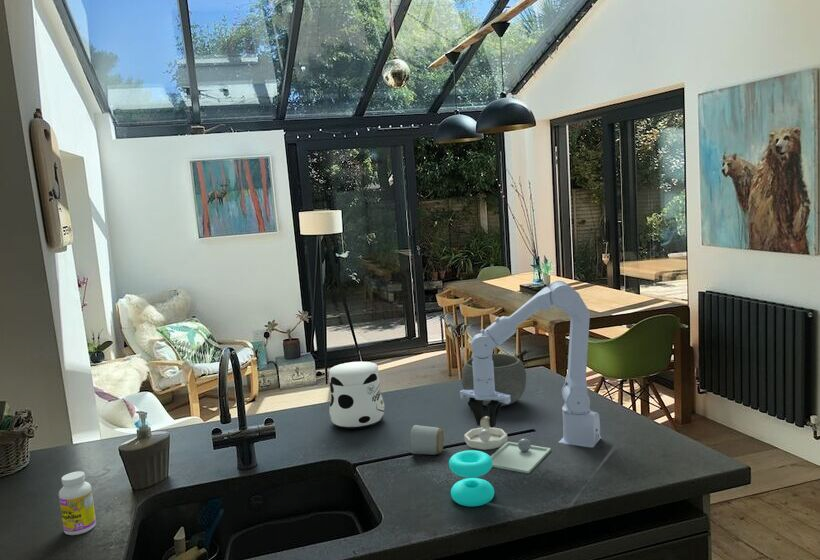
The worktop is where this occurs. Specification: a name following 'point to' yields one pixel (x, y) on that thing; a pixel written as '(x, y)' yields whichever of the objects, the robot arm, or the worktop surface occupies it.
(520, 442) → the pebble slate
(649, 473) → the worktop surface
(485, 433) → the pebble grey
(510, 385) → the bowl
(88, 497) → the supplement bottle
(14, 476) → the worktop surface
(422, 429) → the ceramic mug
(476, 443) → the stoneware bowl
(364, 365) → the milk container
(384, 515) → the worktop surface
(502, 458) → the parts tray
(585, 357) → the robot arm
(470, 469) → the donuts
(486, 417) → the beige round ball
